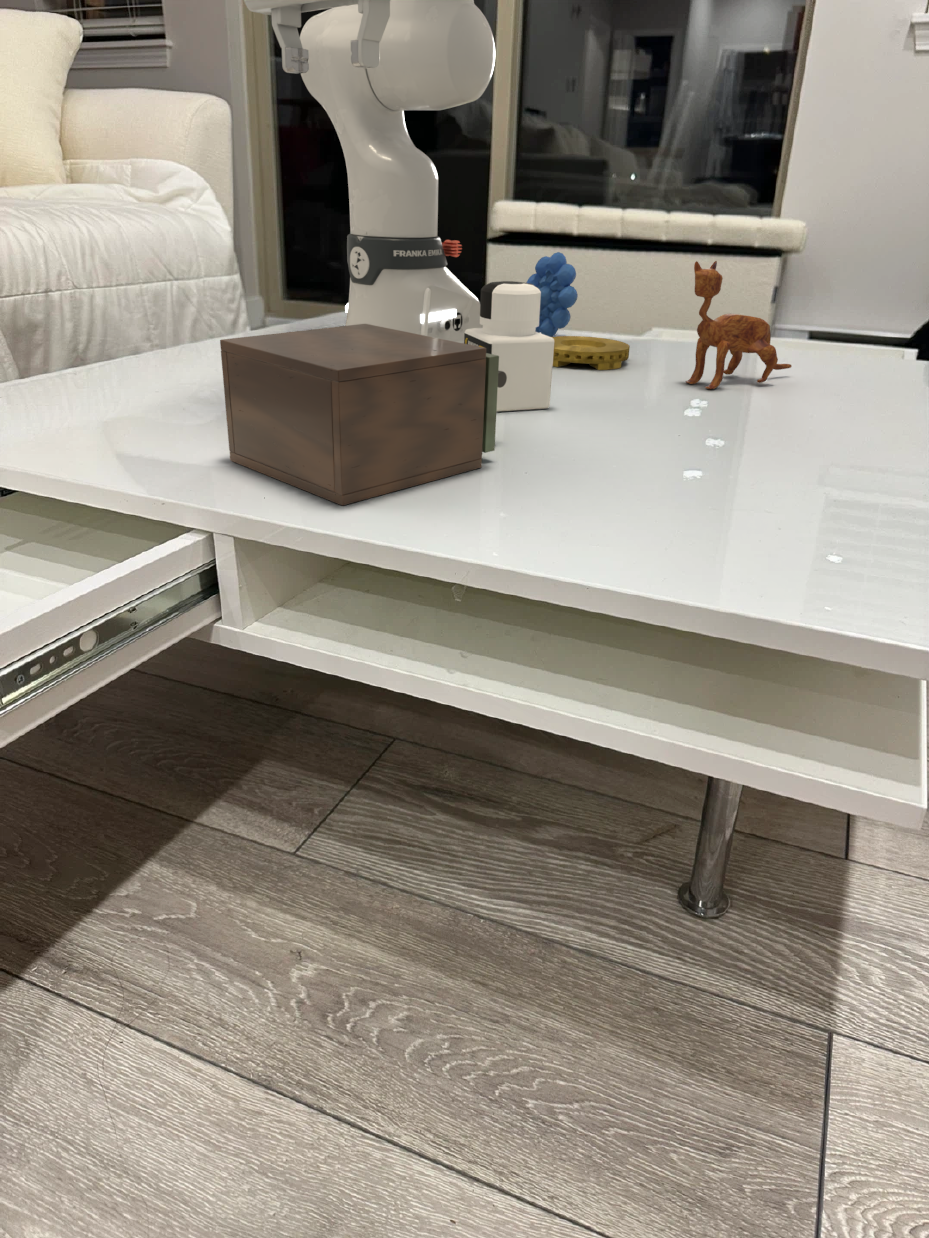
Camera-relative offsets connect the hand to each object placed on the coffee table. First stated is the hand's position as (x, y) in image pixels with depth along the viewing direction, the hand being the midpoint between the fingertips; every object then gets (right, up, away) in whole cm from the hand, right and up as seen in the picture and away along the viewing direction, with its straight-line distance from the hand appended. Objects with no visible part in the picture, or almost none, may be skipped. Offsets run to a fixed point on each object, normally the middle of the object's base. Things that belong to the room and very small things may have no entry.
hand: (329, 70), depth 76 cm
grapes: (+24, -4, +59) cm, 64 cm away
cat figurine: (+45, -17, +34) cm, 58 cm away
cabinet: (+2, -33, -2) cm, 33 cm away
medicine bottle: (+16, -23, +20) cm, 34 cm away
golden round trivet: (+27, -12, +43) cm, 52 cm away
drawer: (+6, -31, +1) cm, 32 cm away
